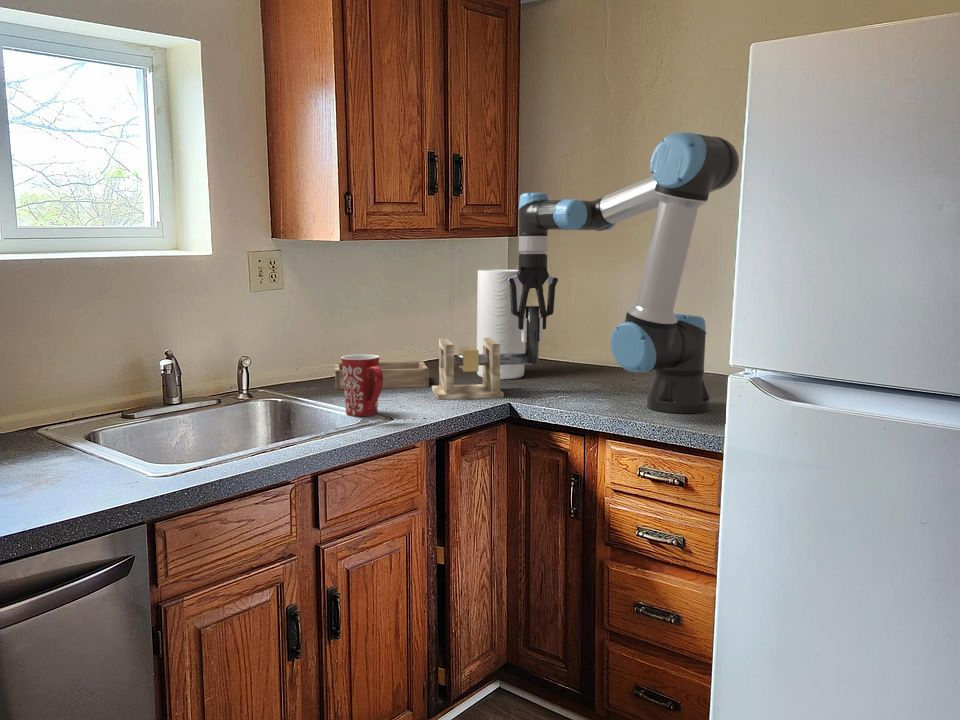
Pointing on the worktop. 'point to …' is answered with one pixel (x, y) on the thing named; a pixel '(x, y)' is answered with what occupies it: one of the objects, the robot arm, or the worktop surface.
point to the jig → (484, 390)
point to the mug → (362, 384)
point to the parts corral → (394, 374)
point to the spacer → (469, 358)
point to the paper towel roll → (499, 318)
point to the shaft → (516, 358)
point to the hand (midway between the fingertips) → (531, 341)
